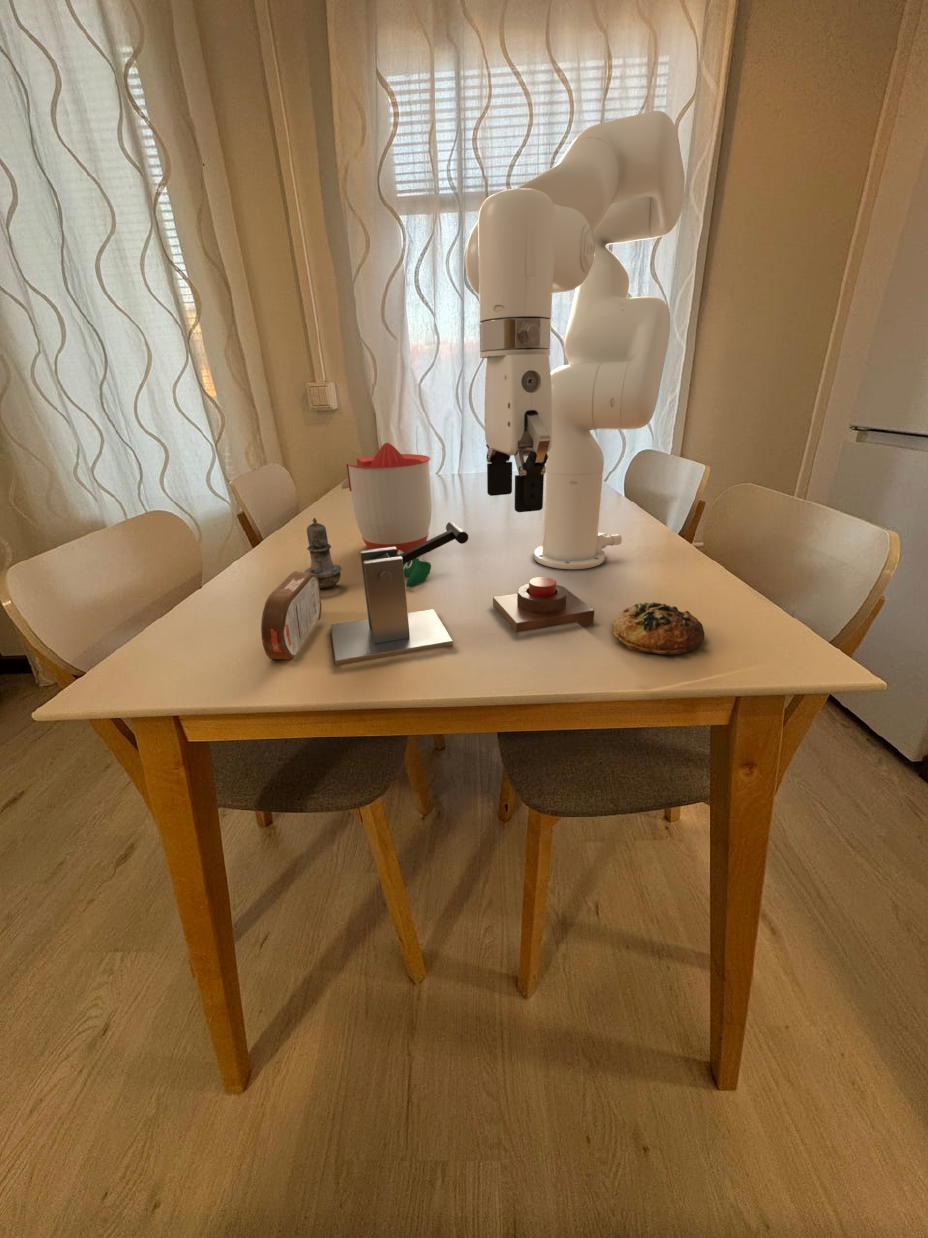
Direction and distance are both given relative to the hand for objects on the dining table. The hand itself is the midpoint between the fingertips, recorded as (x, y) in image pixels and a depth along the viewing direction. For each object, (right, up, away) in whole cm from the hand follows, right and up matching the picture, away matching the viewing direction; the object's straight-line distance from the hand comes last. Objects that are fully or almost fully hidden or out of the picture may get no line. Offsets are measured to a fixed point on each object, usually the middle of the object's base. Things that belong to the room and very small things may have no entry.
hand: (513, 502), depth 61 cm
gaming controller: (-16, -8, +23) cm, 29 cm away
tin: (-27, -17, +4) cm, 32 cm away
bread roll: (+18, -17, +2) cm, 25 cm away
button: (+5, -11, +7) cm, 14 cm away
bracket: (-15, -17, +3) cm, 23 cm away
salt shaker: (-28, -10, +20) cm, 36 cm away
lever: (-11, -7, 0) cm, 13 cm away
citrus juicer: (-20, 0, +40) cm, 45 cm away
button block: (+5, -14, +8) cm, 17 cm away
